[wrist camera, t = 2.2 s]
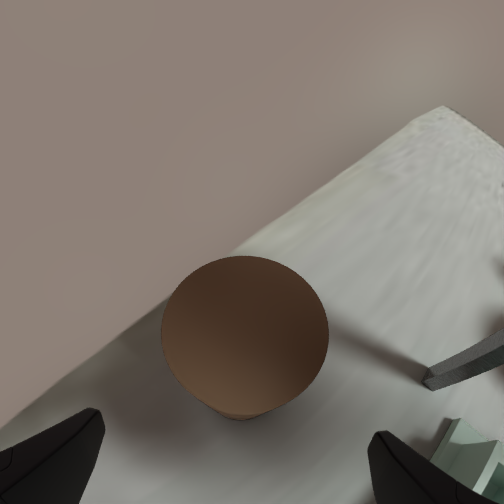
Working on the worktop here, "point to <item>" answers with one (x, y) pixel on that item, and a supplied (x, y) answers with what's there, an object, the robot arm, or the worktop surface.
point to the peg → (244, 335)
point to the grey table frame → (467, 363)
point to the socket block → (472, 460)
